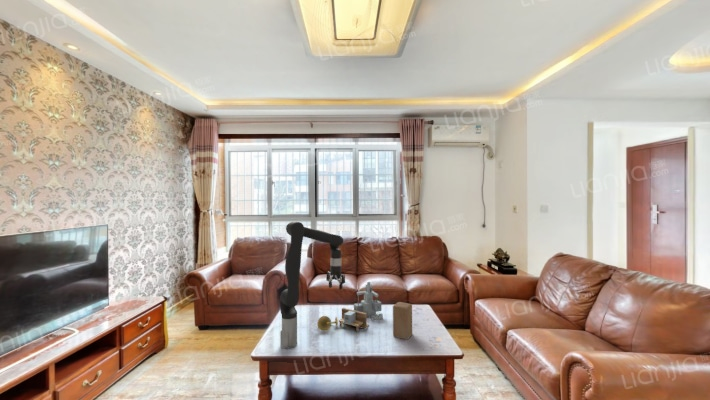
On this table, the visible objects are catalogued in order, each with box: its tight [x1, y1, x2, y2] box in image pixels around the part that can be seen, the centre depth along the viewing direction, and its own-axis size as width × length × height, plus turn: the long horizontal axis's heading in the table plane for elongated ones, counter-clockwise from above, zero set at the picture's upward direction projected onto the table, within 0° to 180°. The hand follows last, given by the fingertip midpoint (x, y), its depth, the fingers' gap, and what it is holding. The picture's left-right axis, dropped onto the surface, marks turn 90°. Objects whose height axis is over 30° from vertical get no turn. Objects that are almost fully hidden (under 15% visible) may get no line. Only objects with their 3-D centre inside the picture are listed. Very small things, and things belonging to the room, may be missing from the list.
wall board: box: [338, 307, 370, 332], centre depth 202 cm, size 11×20×10 cm, turn 57°
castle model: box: [353, 281, 384, 321], centre depth 218 cm, size 17×17×25 cm
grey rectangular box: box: [343, 311, 356, 325], centre depth 198 cm, size 8×5×6 cm, turn 148°
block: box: [392, 301, 413, 340], centre depth 186 cm, size 10×10×20 cm
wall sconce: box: [316, 315, 339, 332], centre depth 193 cm, size 14×10×25 cm
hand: (335, 288), depth 194 cm, fingers open, 8 cm apart
